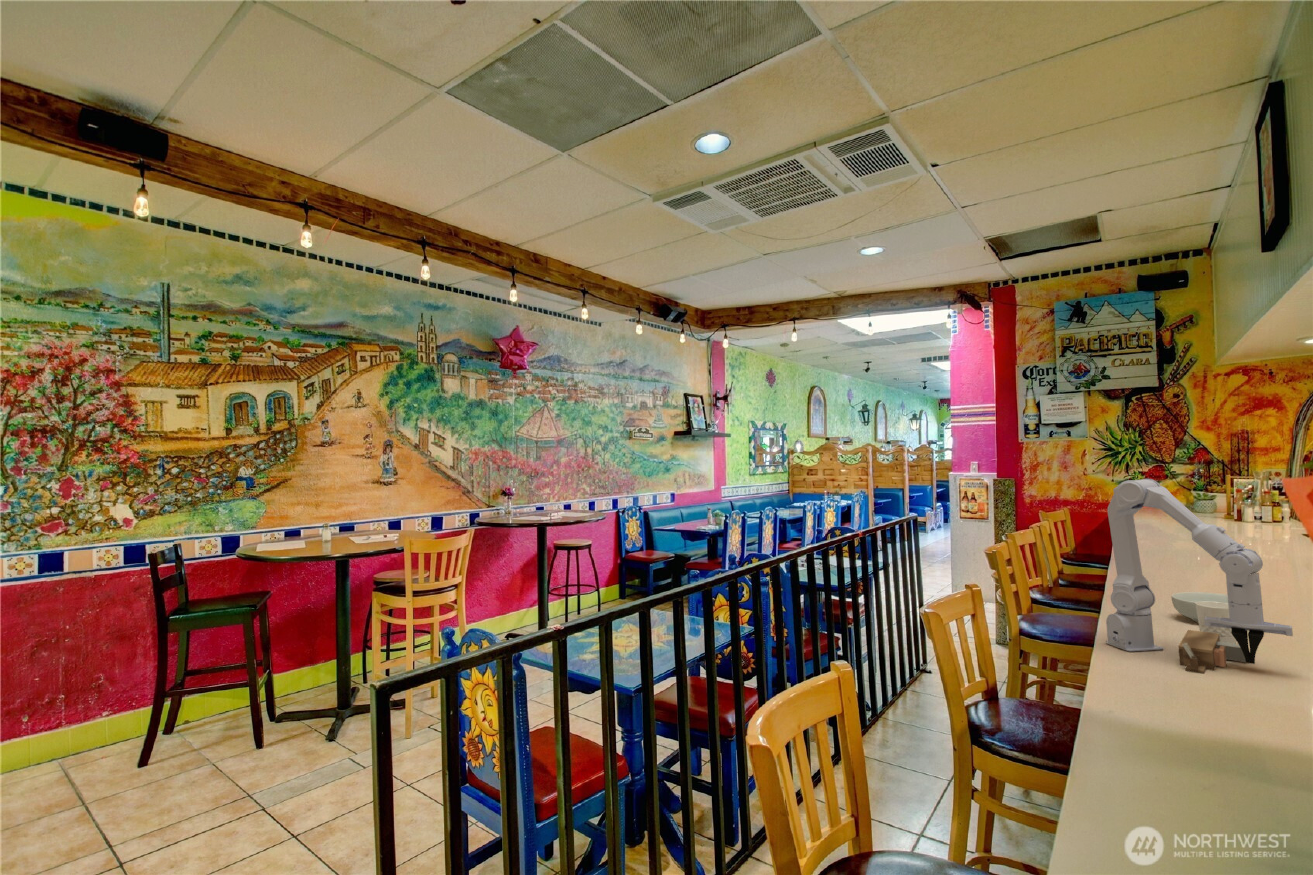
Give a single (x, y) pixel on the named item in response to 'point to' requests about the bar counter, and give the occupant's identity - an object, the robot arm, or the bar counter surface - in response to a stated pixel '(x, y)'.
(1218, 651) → the flanged terracotta block
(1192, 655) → the toggle lever
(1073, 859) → the bar counter surface
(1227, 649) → the plunger grey
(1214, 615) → the white cup
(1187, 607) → the cereal bowl
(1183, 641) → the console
